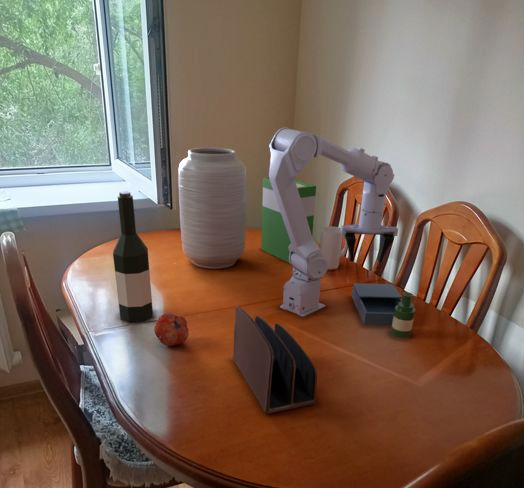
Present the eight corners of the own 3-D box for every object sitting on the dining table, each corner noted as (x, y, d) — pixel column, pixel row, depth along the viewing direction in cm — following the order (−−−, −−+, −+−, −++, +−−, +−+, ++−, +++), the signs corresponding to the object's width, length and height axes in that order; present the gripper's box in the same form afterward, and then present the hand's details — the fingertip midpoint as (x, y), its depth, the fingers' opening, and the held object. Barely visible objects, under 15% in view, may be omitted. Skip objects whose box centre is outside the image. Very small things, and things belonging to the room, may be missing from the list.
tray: (351, 298, 136) (353, 285, 134) (391, 299, 136) (393, 286, 134) (363, 326, 121) (365, 313, 119) (408, 327, 121) (410, 313, 119)
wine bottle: (145, 324, 118) (134, 198, 104) (113, 320, 119) (98, 195, 105) (159, 310, 125) (150, 190, 111) (128, 306, 126) (115, 187, 112)
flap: (353, 284, 134) (353, 283, 133) (393, 285, 134) (393, 284, 134) (359, 297, 126) (359, 296, 126) (401, 298, 127) (401, 297, 126)
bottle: (403, 341, 114) (411, 300, 109) (386, 334, 117) (393, 293, 112) (414, 335, 117) (422, 294, 112) (397, 328, 120) (405, 288, 115)
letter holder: (266, 415, 88) (268, 347, 82) (232, 360, 105) (232, 300, 98) (315, 405, 92) (322, 338, 85) (275, 353, 108) (278, 294, 101)
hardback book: (261, 249, 170) (263, 177, 159) (278, 245, 174) (281, 175, 162) (292, 264, 157) (297, 188, 146) (310, 260, 161) (316, 185, 150)
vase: (174, 254, 162) (168, 146, 146) (231, 248, 170) (231, 145, 154) (193, 276, 146) (189, 157, 130) (255, 267, 154) (258, 155, 138)
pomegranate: (151, 351, 111) (161, 343, 103) (148, 319, 113) (157, 309, 104) (183, 348, 115) (195, 340, 106) (179, 317, 116) (191, 307, 107)
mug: (324, 271, 153) (328, 233, 148) (313, 263, 159) (317, 227, 153) (351, 267, 157) (356, 230, 152) (340, 260, 163) (344, 224, 157)
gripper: (396, 207, 129) (388, 256, 136) (341, 205, 129) (336, 255, 135) (403, 214, 123) (394, 265, 130) (345, 212, 123) (340, 264, 129)
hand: (365, 260), depth 132 cm, fingers open, 7 cm apart
